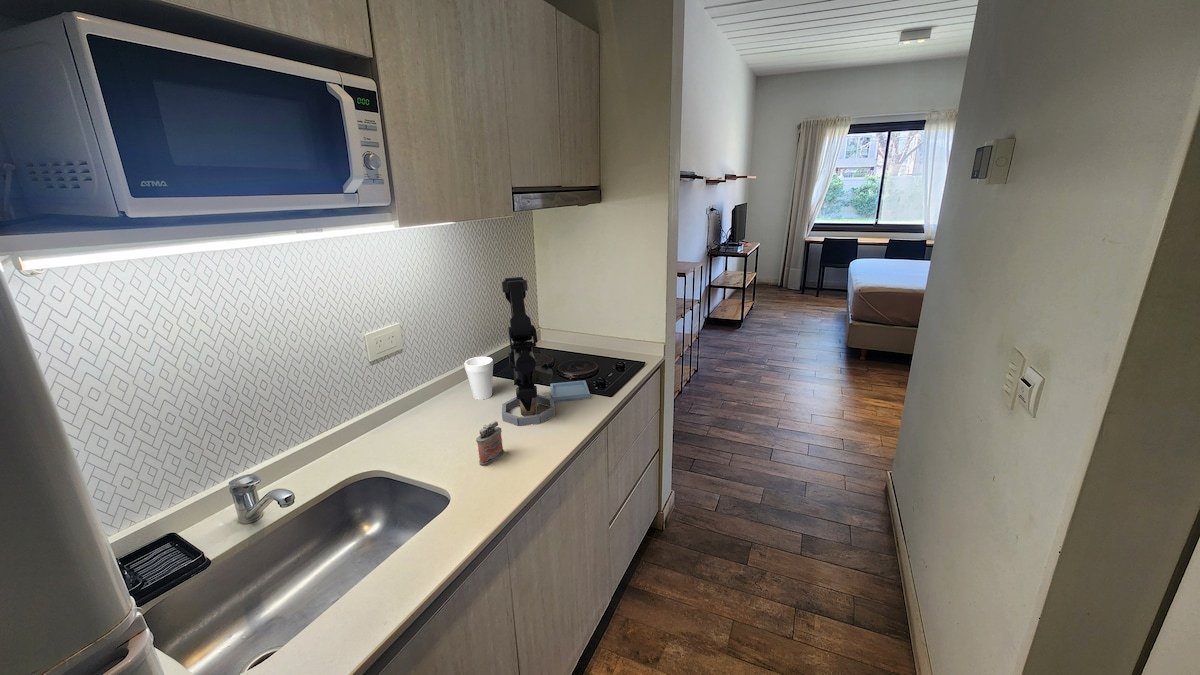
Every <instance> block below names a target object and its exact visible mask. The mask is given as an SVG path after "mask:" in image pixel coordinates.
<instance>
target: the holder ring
mask: <svg viewBox="0 0 1200 675" xmlns="http://www.w3.org/2000/svg"><path fill="white" fill-rule="evenodd" d="M535 399H536V404H539V405H542V406H543V405H544V406H546V407H549V408H548V409H545V410H544V411H542V412H541V413H539V414H535V415H531V416H522V415H521V416H518V415H515V414H513V413H509V412H508V411H510V410H512V409H515V408H516V407H518V406H520V399H517V398H516V396H514V398H511V399H510V400H507V401H505V402H503V403H502V406H501V418H502V419H501V420H502V422H505V423H509V424H511V425H514V426H517V427H522V426H523V427H524V426H531V424H533V425H540V424H543V423H544V422H546V421H547V420H549V419H551V418H553V417H554V416H555V415H556V409H555V402H554V401H553V399H552V397H548V396H545V395H542V394H537V397H536V398H535Z"/></svg>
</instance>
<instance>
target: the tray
mask: <svg viewBox="0 0 1200 675" xmlns="http://www.w3.org/2000/svg"><path fill="white" fill-rule="evenodd" d="M549 385H550V392H551V398H552V399H553V401H554V403H558V402H568V401H575V400H577V401H578V400H586V399H587V398H588V399H590V398H591V393H590V391H589V387H588V384H587V381H586V380H576V381H565V382H555V383H553V382H552V383H549Z"/></svg>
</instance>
